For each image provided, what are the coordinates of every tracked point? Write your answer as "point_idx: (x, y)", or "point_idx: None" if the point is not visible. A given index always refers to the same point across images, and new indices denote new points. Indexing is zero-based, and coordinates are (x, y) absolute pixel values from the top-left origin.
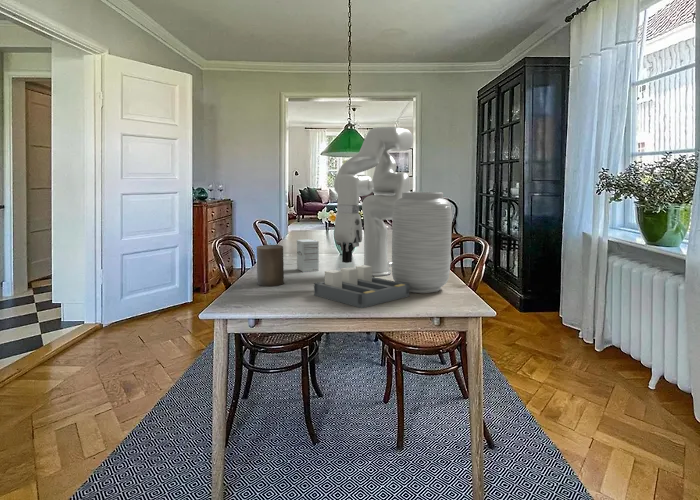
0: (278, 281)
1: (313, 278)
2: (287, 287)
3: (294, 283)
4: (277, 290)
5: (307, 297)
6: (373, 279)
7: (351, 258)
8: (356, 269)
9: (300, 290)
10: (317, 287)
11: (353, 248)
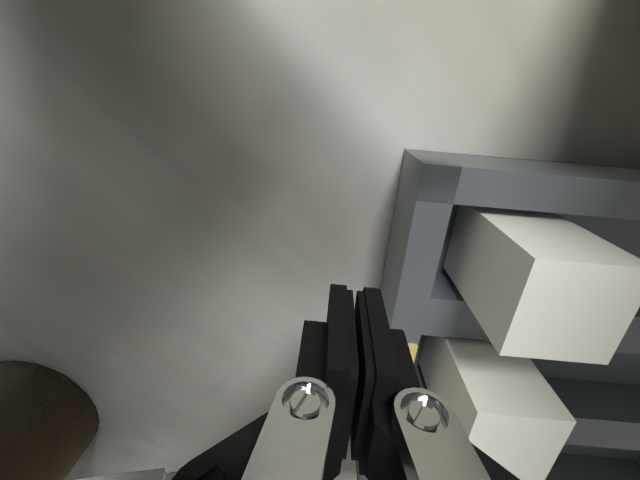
0: (84, 429)
1: (14, 194)
2: (155, 412)
3: (93, 348)
4: (181, 459)
5: None
6: (580, 212)
7: (404, 336)
8: (569, 427)
9: (243, 416)
10: None
11: (494, 469)
